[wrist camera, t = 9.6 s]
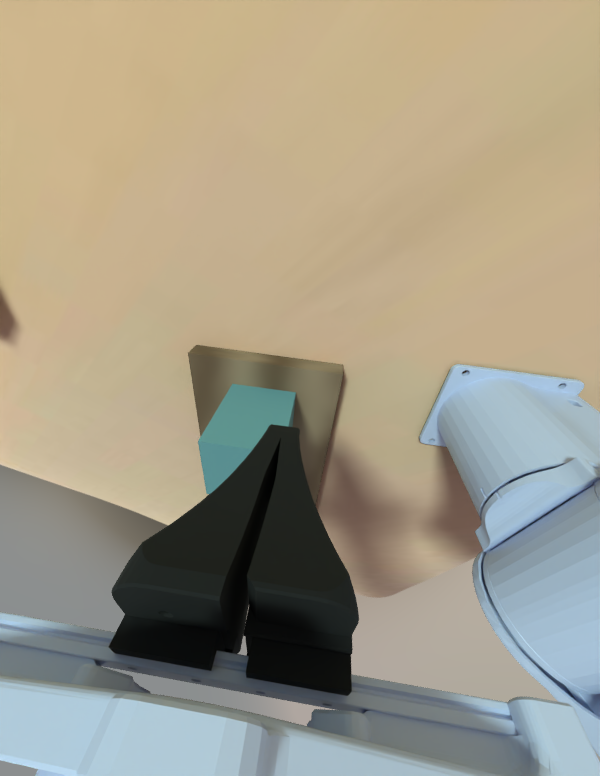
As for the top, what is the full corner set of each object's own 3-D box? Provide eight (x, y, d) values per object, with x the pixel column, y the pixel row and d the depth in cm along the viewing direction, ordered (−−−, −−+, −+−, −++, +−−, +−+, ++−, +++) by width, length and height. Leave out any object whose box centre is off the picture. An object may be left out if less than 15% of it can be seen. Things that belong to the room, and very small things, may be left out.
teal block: (295, 392, 22) (282, 453, 16) (291, 439, 25) (278, 504, 19) (232, 383, 22) (198, 441, 17) (235, 431, 25) (206, 493, 19)
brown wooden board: (342, 364, 22) (343, 374, 20) (310, 523, 34) (309, 535, 33) (196, 345, 22) (188, 353, 21) (217, 508, 35) (213, 519, 34)
